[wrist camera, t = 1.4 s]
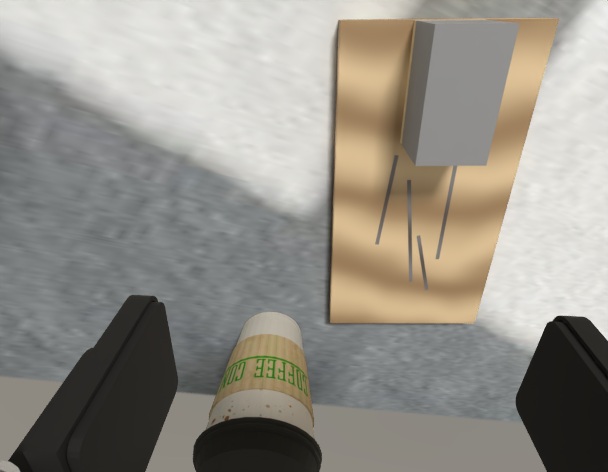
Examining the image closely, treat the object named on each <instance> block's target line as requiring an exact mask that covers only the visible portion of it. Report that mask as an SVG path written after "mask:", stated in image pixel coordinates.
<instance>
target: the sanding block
mask: <svg viewBox="0 0 608 472" xmlns="http://www.w3.org/2000/svg"><path fill="white" fill-rule="evenodd" d="M519 25H520V23H512V22H503V21H494V20H485V19H483V20H414V26H413V34H412V43H411V52H410V60H409V69H408V78H407V86H406V95H405V103H404V112H403V121H402V129H401V138H400V143H401V144H402V146H403V147H404V149H405V151H406V152H407V154H408V155H409V157H410V158H411V160H412V161H413V163H414V165H415V166H486V165H487V161H488V157H489V152H490V148H491V144H492V140H493V135H494V131H495V127H496V123H497V118H498V114H499V110H500V106H501V101H502V97H503V93H504V89H505V84H506V80H507V76H508V72H509V67H510V63H511V59H512V55H513V50H514V46H515V42H516V38H517V33H518V29H519Z"/></svg>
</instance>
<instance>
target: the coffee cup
mask: <svg viewBox="0 0 608 472" xmlns="http://www.w3.org/2000/svg"><path fill="white" fill-rule="evenodd" d="M313 427H314V417H313V410H312V402H311V395H310V388H309V380H308V373H307V366H306V359H305V355H304V353H303V346H302V338H301V331H300V328H299V326H298V324H297V323H296V322H295V321H294V320H293V319H291V318H290V317H288V316H286V315H284V314H281V313H276V312H264V313H259V314H257V315H254V316H253V317H251V318H250V319H248V320H247V321H246V323H245V324H244V326H243V329H242V332H241V334H240V337H239V340H238V343H237V345H236V347H235V348H234V350H233V352H232V354H231V357H230V360H229V362H228V365H227V368H226V370H225V373H224V376H223V378H222V381H221V384H220V386H219V389H218V392H217V394H216V397H215V400H214V402H213V405H212V408H211V410H210V413H209V422H208V425H207V427H206V430H205V431H204V432H203V433H202V434H201V435H200V436H199V437H198V439H197V440H196V442H195V445H194V451H193V463H194V467H195V470H196V472H319V470H320V467H321V461H322V453H321V450H320V447H319V445H318V444H317V442H316V441H315V439H314V431H313Z"/></svg>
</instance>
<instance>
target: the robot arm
mask: <svg viewBox="0 0 608 472" xmlns="http://www.w3.org/2000/svg"><path fill="white" fill-rule="evenodd" d="M177 385H178V376H177V371H176V365H175V360H174V354H173V349H172V343H171V338H170V332H169V327H168V321H167V316H166V310H165V306H164V304H163V303H162V302H158V300H157V298H156V297H155V296H143V295H131V296H129V297H128V298H127V300H126V301H125V303H124V304H123V306H122V307H121V309H120V310H119V311H118V313H117V314H116V316H115V317H114V319H113V320H112V322H111V323H110V325H109V326H108V327H107V329H106V330H105V332H104V333H103V335H102V336H101V338H100V339H99V341H98V342H97V344H96V345H95V346H94V348H90V349H89V350H87V351H86V352H85V353H84V354H83V355H82V357H81V358H80V360H79V361H78V362H77V364H76V365H75V367H74V368H73V370H72V371H71V372H70V374H69V375H68V377H67V378H66V379H65V381H64V382H63V384H62V385H61V387H60V388H59V390H58V391H57V393H56V394H55V395H54V397H53V398H52V399H51V401H50V402H49V404H48V405H47V406H46V408H45V409H44V411H43V412H42V414H41V415H40V416H39V418H38V419H37V421H36V422H35V424H34V425H33V426H32V428H31V429H30V431H29V432H28V434H27V435H26V436H25V438H24V439H23V441H22V442H21V443H20V445H19V447H18V448H17V449H16V451H15V452H14V453H13V455H12V456H11V458H10V459H9V461H2V460H0V472H145V471H146V468H147V466H148V463H149V460H150V458H151V455H152V453H153V450H154V447H155V445H156V442H157V440H158V437H159V435H160V432H161V429H162V427H163V424H164V422H165V419H166V417H167V414H168V412H169V409H170V406H171V404H172V401H173V399H174V396H175V393H176V390H177ZM516 407H517V410H518V413H519V415H520V417H521V419H522V421H523V423H524V425H525V427H526V429H527V431H528V433H529V435H530V437H531V440H532V442H533V443H534V446H535V448H536V450H537V452H538V453H539V456H540V458H541V460H542V462H543V464H544V466H545V468H546V470H547V472H608V341H607V340H606V338H605V337H604V336H603V335H602V334H601V333H600V332H599V330H598V329H597V328H596V327H595V326H594V325H593V323H592V322H591V321H590V320H589V319H587V318H585V317H576V316H557V317H556V318H554V320H553V321H552V322H549V323H547V325H546V327H545V329H544V332H543V334H542V336H541V339H540V341H539V344H538V346H537V348H536V351H535V353H534V355H533V358H532V360H531V362H530V365H529V367H528V369H527V372H526V374H525V377H524V379H523V381H522V384H521V386H520V388H519V391H518V393H517V396H516Z"/></svg>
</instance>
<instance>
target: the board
mask: <svg viewBox="0 0 608 472" xmlns="http://www.w3.org/2000/svg"><path fill="white" fill-rule="evenodd" d="M483 19H485V20H494V21H503V22H512V23H520V25H519V29H518V33H517V38H516V42H515V46H514V50H513V55H512V59H511V63H510V67H509V72H508V76H507V80H506V84H505V89H504V93H503V97H502V101H501V106H500V110H499V114H498V118H497V123H496V127H495V131H494V135H493V140H492V144H491V148H490V152H489V157H488V161H487V165H486V166H415V165H414V163H413V161H412V160H411V158H410V157H409V155H408V154H407V152H406V151H405V149H404V147H403V146H402V144H401V143H400V138H401V129H402V121H403V112H404V103H405V95H406V86H407V78H408V69H409V60H410V52H411V43H412V34H413V26H414V20H483ZM483 19H370V20H339V30H338V61H337V93H336V124H335V156H334V187H333V219H332V250H331V282H330V323H475V319H476V316H477V312H478V309H479V305H480V301H481V298H482V294H483V291H484V287H485V283H486V280H487V276H488V273H489V269H490V265H491V262H492V258H493V255H494V251H495V247H496V244H497V240H498V237H499V233H500V229H501V226H502V222H503V219H504V215H505V211H506V208H507V204H508V201H509V197H510V193H511V190H512V186H513V183H514V179H515V176H516V172H517V168H518V165H519V161H520V158H521V154H522V150H523V147H524V143H525V140H526V136H527V132H528V129H529V125H530V122H531V118H532V114H533V111H534V107H535V104H536V100H537V96H538V93H539V89H540V86H541V82H542V78H543V75H544V71H545V68H546V64H547V60H548V57H549V53H550V50H551V46H552V42H553V39H554V35H555V32H556V28H557V24H558V21H559V19H555V18H483Z"/></svg>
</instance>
